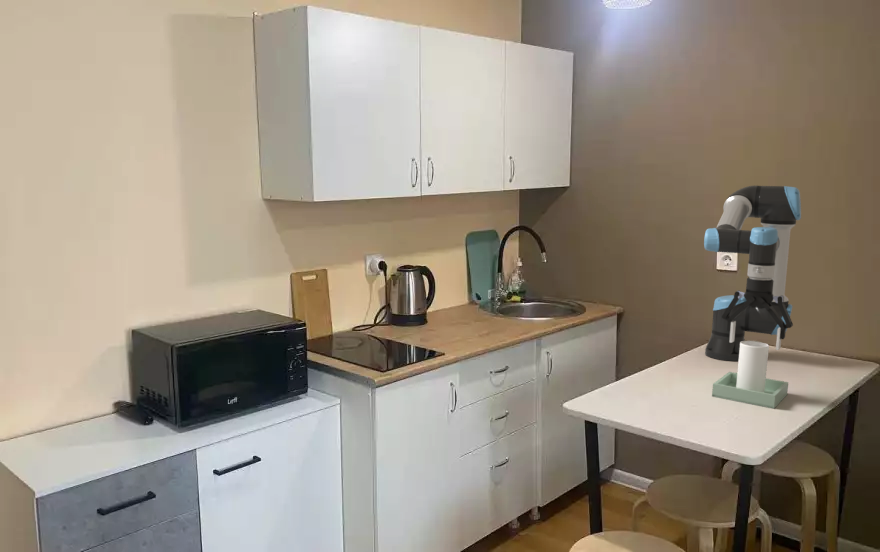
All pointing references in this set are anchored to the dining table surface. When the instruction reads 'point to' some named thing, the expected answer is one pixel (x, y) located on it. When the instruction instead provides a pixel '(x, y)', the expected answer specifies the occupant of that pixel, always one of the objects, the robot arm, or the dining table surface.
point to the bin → (750, 391)
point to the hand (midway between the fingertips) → (754, 345)
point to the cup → (752, 365)
